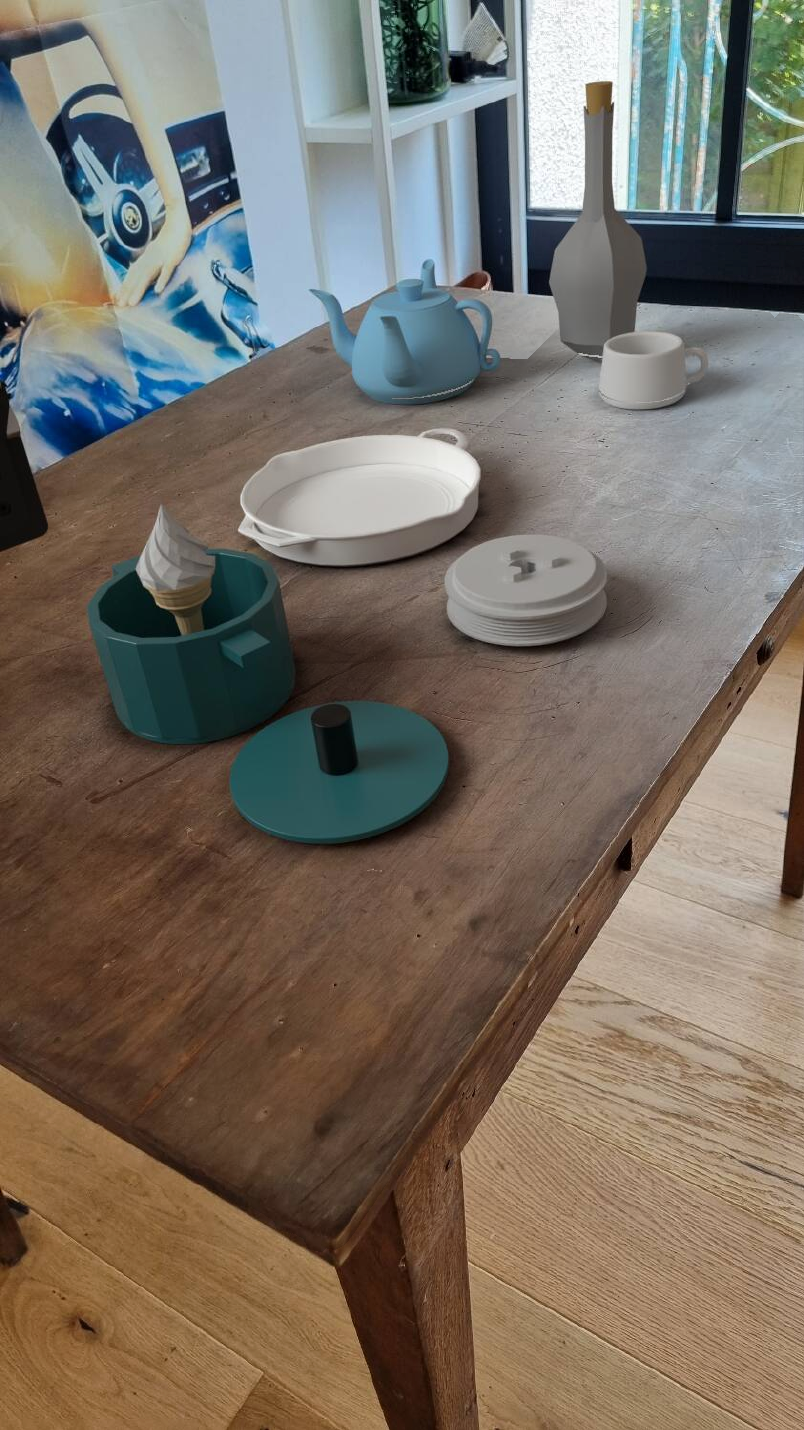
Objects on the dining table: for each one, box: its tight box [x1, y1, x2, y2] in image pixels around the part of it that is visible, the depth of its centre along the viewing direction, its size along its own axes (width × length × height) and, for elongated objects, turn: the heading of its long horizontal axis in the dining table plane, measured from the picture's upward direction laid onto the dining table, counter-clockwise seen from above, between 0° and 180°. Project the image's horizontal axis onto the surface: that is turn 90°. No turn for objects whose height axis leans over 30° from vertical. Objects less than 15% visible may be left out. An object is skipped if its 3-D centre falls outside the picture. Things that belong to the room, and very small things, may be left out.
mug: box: [598, 330, 709, 410], centre depth 123 cm, size 12×10×6 cm
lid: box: [444, 533, 608, 647], centre depth 87 cm, size 13×13×5 cm
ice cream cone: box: [136, 503, 215, 636], centre depth 80 cm, size 6×6×15 cm
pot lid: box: [228, 700, 450, 845], centre depth 73 cm, size 15×15×5 cm
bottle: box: [548, 80, 648, 363], centre depth 127 cm, size 11×11×30 cm
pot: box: [86, 548, 297, 745], centre depth 82 cm, size 14×19×8 cm
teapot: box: [308, 258, 502, 405], centre depth 132 cm, size 17×19×12 cm
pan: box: [237, 427, 482, 568], centre depth 106 cm, size 24×27×4 cm
